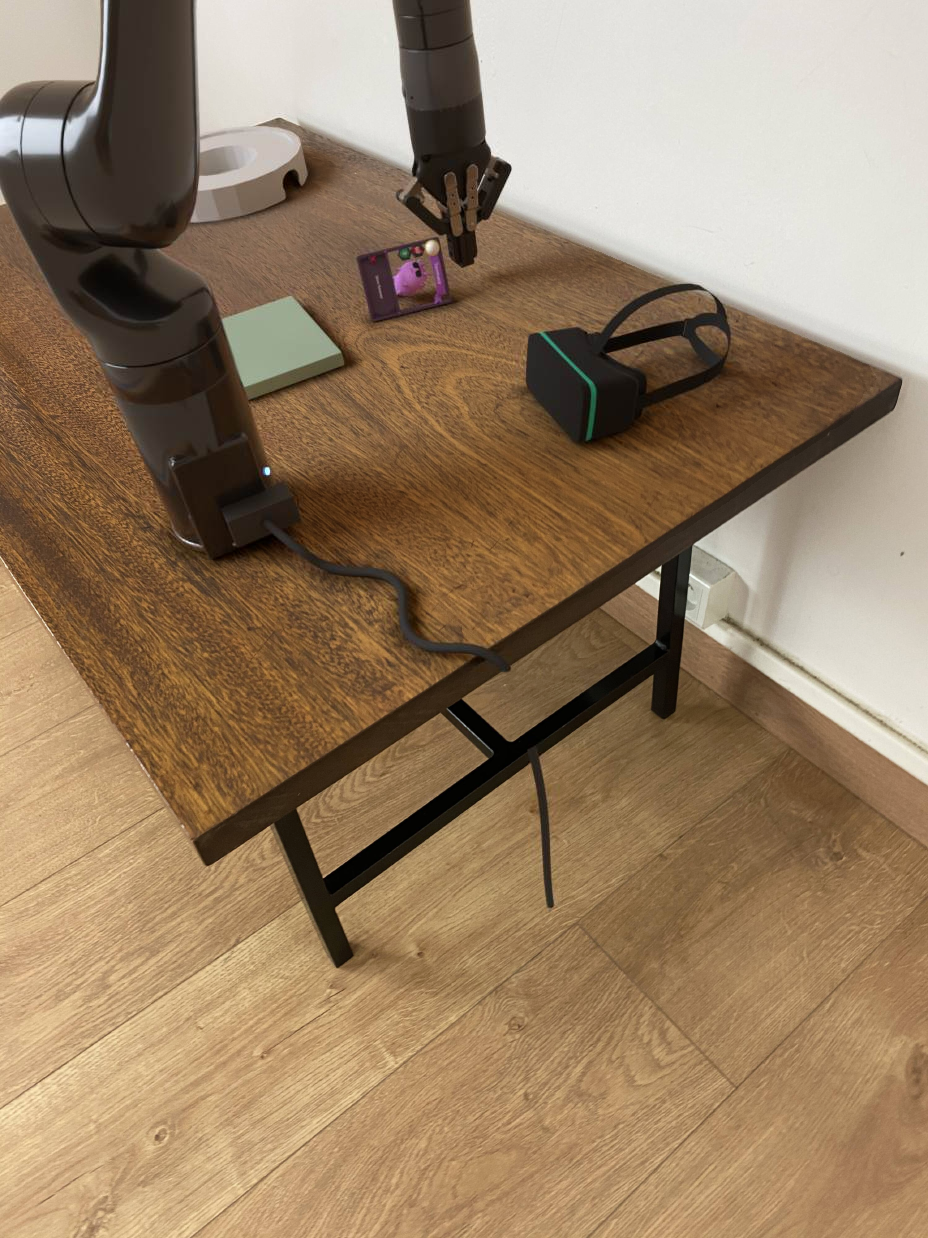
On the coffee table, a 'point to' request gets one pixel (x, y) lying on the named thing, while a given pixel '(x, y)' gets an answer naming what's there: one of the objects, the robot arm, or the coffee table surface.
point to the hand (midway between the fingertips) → (464, 263)
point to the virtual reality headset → (611, 369)
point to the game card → (401, 278)
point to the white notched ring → (245, 170)
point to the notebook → (279, 346)
